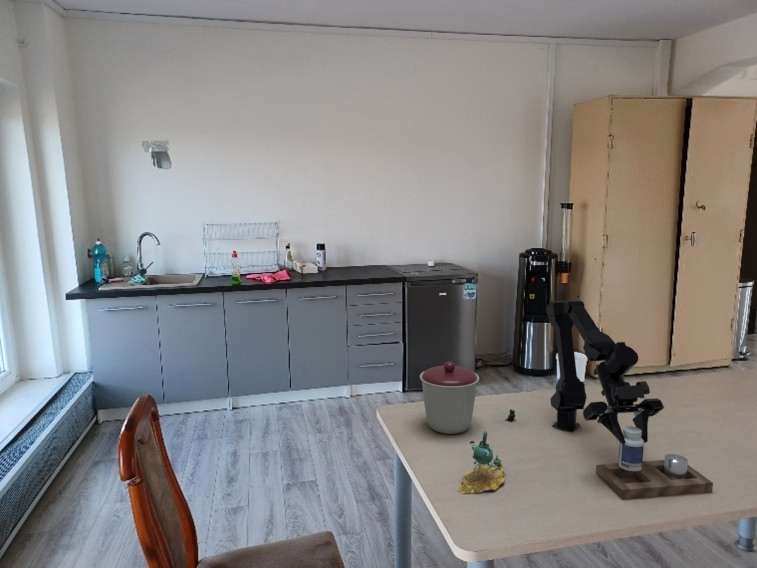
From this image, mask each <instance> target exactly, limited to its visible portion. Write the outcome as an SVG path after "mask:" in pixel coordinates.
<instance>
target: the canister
mask: <svg viewBox="0 0 757 568" xmlns="http://www.w3.org/2000/svg"><path fill="white" fill-rule="evenodd" d="M419 379H420V381H421V384H422V394H423V403H424V409H425V410H424V411H425V416H426V417H425V419H426V423H427V425H428V426H429V427H430V428H431V430H434V431H435V432H438V433H441V434H445V435H448V434H449V435H455V434H456V435H457V434H459V433H464V432H465V431H467V430H468V429H469V428H470V426H471V425H472V424H471V423H472V419H473V414H474V409H475V401H476V394H477V384H478V382H479V381H480V376H479V375H478V373H476V372H474V371H472V370H471V369H469V368H466V367H462V366H457V365H456V364H455V363H454V362H452V361H446V362H444V363H443V365H438V366H433V367H429V368H428V369H426V370H423V372H421V373H420V374H419Z"/></svg>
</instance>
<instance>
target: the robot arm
mask: <svg viewBox="0 0 757 568" xmlns="http://www.w3.org/2000/svg"><path fill="white" fill-rule="evenodd" d="M545 308H546V309H545V312H546V315H547V318H548V322H549V324H550V325H551V326H552V328H553V329H554V331H555V332H554V333H555V339H556V349H557V357H558V367H559V378H558V381H557V383H556V385H555V392H554V394H553V395H551V397H550V406H551V407H552V408H553V409H554V410H556V421H555V422H554V423H553V424H551V426H552V428H555V429H558V430H559V429H560V430H564V431H567V432H570V433H574V432H575V431H576V430H577V429H578V428H579V427H580V426H581V424H580V423H579V422H577V412H578V411H577V410H583V411H582V415H583V418H584V421H596V422H597V423H598V424H602V425H603V426H604V428H605V429H607V430H608V431H609V432H610V433H611V434H612V435H613V436H614V438H616V440H617V441H619V442H621V444H625V439H624V435H623V430H622V429H621V425H620V423H619V420H618V419H619V418H618V414H628V413H633V415H634V417H633V418H632V422H633V423H634V427H637V428H639V429H640V430H641V438H642V439H643V441H644V444H646V443H647V442H648V440H649V435H648V434H649V432H648V430H649V429H648V428H649V427H648V426H649V418H650V417H654V416H656V415H658V413H660V412H661V411H662V410H664V409H665V406H664V404H663V401H662V400H661V399H659V398H658V397H655V398H645V396H646V395H650V393H651V391H650V386H649V385H648V382H647V381H646V380H645V381H644V380H643V381H637V382H636V383H635V384H634V385H633V384H632V385H631V383H629V381H625V378H624V376H625V375H626V374H627V373H628V372H630V370H631V369H633V367H635V366H636V364H637V363H638V362H639V354H638V353H637V352H636V351H635V350H634V349H633V348H632V347H630V346H628V345H626V343H625V341H617V342H616V343H615V341H614V340H613V338H611V337H610V335H608V333H607V334H606V333H605V332H602V331H600V329H599V327H598V325H597V324H596V323H595V321H594V319H593V318H592V316H591V315H590V313H589V312H588V311H587V309H586V308H585V302H583V301H582V300H579V299H577V300H576V299H575V300H574V299H573V300H571V299H570V300H569V299H568V300H552V301H550V302H549V304H547V306H546V307H545ZM573 327H575V328H576V329H577V331H578V334H580V336H581V338H582V340H583V347H582V348H583V351H584V355H585V356H586V358H587V359H588V360H589V361H590V362H599V364H596V365H595V368H594V369H593V375H594V376H598V379H599V380H598V381H599V382H600V385H601V388H602V390H601V392H600V394H601V396H602V397H604V396H605V400H606V402H605V401H604V400H603V401H592V402H591V401H590V402H589V404H588V405H587V406H585V405H586V403H587V397H588V396H587V394H586V387H585V386H586V385H585V383H584V381H581V380H580V378H579V377H578V374H577V365H576V358H575V356H576V355H575V348H574V347H575V345H574V339H573V338H574V336H573ZM639 399H643V400H642V401H640V403H636V402H637V401H639ZM634 403H635V404H634Z"/></svg>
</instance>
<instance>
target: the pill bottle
mask: <svg viewBox="0 0 757 568" xmlns="http://www.w3.org/2000/svg"><path fill="white" fill-rule="evenodd" d="M622 433H623V435H624V439H625V444H621V442H620V441H619V444H618V446H619V447H618V462H617V463H618V464H619V466H620V467H621V468H623V469H625V470H628V471H639V470H641V469H642V464H643V461H644V449H645V448H644V447H645V443H644V441H643V439H642V438H641V430H640V429H639V428H637V427H636V426H631V425H627V426H624V427H623V430H622Z"/></svg>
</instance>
